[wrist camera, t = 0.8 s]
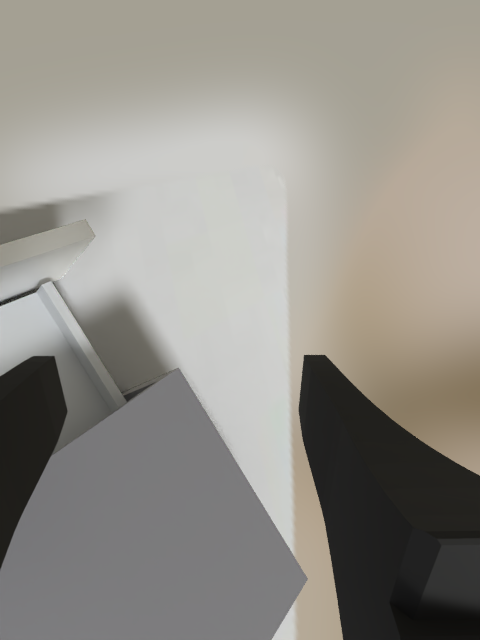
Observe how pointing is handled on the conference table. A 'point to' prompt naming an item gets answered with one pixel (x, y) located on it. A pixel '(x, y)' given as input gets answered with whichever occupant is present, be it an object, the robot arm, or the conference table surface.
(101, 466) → the housing
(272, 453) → the conference table surface
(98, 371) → the tray
